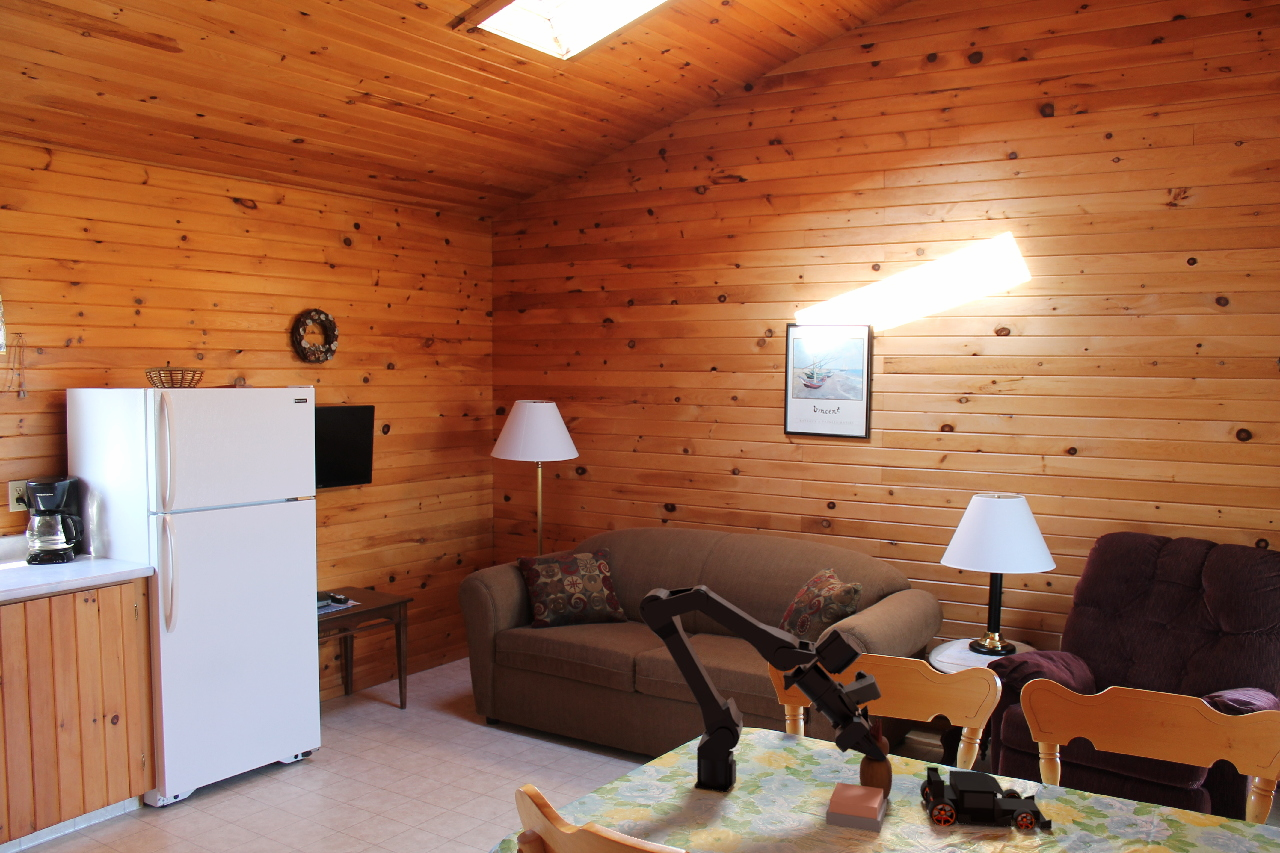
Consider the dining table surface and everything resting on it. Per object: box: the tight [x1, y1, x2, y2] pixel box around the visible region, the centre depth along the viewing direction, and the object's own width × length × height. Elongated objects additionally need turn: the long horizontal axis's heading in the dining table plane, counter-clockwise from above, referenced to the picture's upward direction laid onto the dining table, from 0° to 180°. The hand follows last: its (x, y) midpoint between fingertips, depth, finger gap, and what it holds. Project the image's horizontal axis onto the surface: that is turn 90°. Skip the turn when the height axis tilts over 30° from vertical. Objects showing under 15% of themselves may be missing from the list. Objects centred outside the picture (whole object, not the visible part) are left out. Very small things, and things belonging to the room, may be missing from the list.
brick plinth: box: [825, 781, 887, 833], centre depth 168 cm, size 9×9×4 cm
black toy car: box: [919, 766, 1053, 830], centre depth 169 cm, size 10×20×7 cm, turn 83°
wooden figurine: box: [859, 718, 893, 800], centre depth 176 cm, size 7×6×15 cm
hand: (883, 754), depth 175 cm, fingers closed on wooden figurine, 5 cm apart
